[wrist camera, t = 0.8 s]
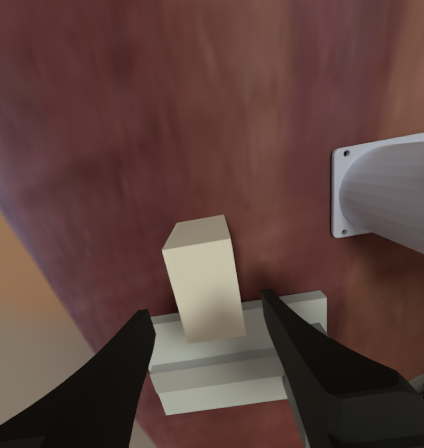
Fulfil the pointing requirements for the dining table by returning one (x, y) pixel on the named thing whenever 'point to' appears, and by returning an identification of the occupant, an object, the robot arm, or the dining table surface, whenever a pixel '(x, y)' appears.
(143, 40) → the dining table surface
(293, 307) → the rail plate
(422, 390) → the electrical switch
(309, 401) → the robot arm
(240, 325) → the block
